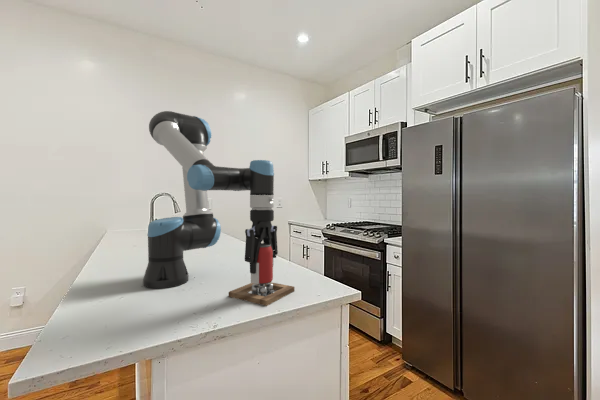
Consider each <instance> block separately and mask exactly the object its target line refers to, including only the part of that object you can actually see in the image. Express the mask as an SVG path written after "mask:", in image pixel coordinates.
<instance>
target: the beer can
mask: <svg viewBox="0 0 600 400" xmlns="http://www.w3.org/2000/svg"><path fill="white" fill-rule="evenodd" d="M253 259H254V258H253ZM257 263H259V284H268V283H270V282H272V283H273V279H274V258H273V251H272V248H271V244H266V243H264V242H261V245H260V250H259V255H258V260H257Z"/></svg>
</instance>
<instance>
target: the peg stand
mask: <svg viewBox="0 0 600 400" xmlns="http://www.w3.org/2000/svg"><path fill="white" fill-rule="evenodd" d="M272 283H273V282H272ZM272 283H268V284H267V288H266V286H265V284H258V285H257V284H253V285H252V291H251V294H256V295H260V296H267V295H270V294H272V293H274V290H273V284H272Z"/></svg>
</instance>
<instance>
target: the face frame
mask: <svg viewBox="0 0 600 400" xmlns="http://www.w3.org/2000/svg"><path fill="white" fill-rule="evenodd" d="M270 283H272V284H273V293H272V294H267V296H260V294H258V295H256V294H252V285H253V284H254V283H251V282H250V283H248V284H246V285H242V286H240V287H237V288H235V289H232V290H230V291H228V298H233V299H236V300H239V301H241V300H242V301H244V302H249V303H254V304H258V305H262V306H265V307H267V306H269V305H271V304H273V303H275V302H277V301H278V300H279V301H280V299H283V298H284V297H286V296H288V295H290V294H292V293H294V292H295V286H293V285H287V284H282V283H277V282H273V281H272V282H270ZM257 285H258V284H257ZM265 286H266V289H267V284H265Z"/></svg>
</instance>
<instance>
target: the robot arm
mask: <svg viewBox="0 0 600 400" xmlns="http://www.w3.org/2000/svg"><path fill="white" fill-rule="evenodd" d="M148 130H149V134H150V136H151V137H152V139H153V141H155V143H157V144H159V145H160V146H163V147H164V148H165V149H166V150H167V151H168V152H169V153H170V155H171V156H172V157H173V158H174V159H175V160H176V161H177V162H178V164H179V165H180V166H181V167H182V168H181V169H182V177H183V179H182V180H183V187H184V188H183V190H184V200H185V201H184V202H185V209H186V210H185V212H184V214H182V216H171V217H164V218H159V219H155V220H152V221H151V222H149V224H148V225H147V226H148V227H147V251H148V253H147V255H148V260H147V261H148V262H147V266H146V269H145V272H144V275H143V277H142V278H143V279H142V285H143V287H145V288H148V289H166V288H167V289H168V288H172V287H176V286H177V287H178V286H181V285H184V284H186V283H188V281H189V279H190V278H189V272H188V269H187V265H186V263H185V261H184V251H185V252H186V251H192V250H197V249H198V250H199V249H206V248H208V247H209V248H210V247H212V246H213V247H214V245H215V244H217V243H218V240H219V239H220V238H221V230H222V228H221V227H222V226H221V223H220V222H219V220H218V219H217V218H216V217H214V213H213V212H212V211H211V210H210V208H209V199H208V198H209V197H208V191H234V192H243V191H244V192H245V191H250V193H249V208H250V210H249V219H250V221H251V222H252V223H251V224H252V225H251V228H247V229H245V231H244V233H245V248H244V261H245V262H247V263H249V273H250V283H254V284H259V263H257V260H258V255H259V250H260V245H261V243H266V244H271V248H272V251H273V259H276V258H277V255H278V252H279V251H278V236H277V234H278V233H277V232H278V225H273V224H272V222H273V221H274V218H275V217H274V216H275V215H274V214H275V213H274V211H275V210H274V209H273V208H274V205H275V204H274V203H275V201H274V193H275V191H274V187H275V186H274V185H275V184H274V181H275V179H274V177H275V172H274V171H275V170H274V164H273V162H272V161H271V160H266V159H255V160H254V159H253V160H251V161H250V162H249V166H248V167H246V168H245V167H242V168H241V167H240V168H239V167H238V168H237V167H227V166H226V167H225V166H216V165H214V164H213V163H212V162H211V161H210V160H209V159H208V158H207V157H206V156H205V155H204V152H205V151H206V150H207V146H209V144H210V143H211V139H212V129H211V127H210V125H209V123H208V122H207V121H206V119H204V118H201V117H198V116H196V115H189V114H184V113H179V112H175V111H170V110H164V111H163V110H162V111H159V112H158V113H156V114H154V115H153V117H151V119H150V121H149V123H148ZM253 258H254V259H253Z"/></svg>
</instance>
